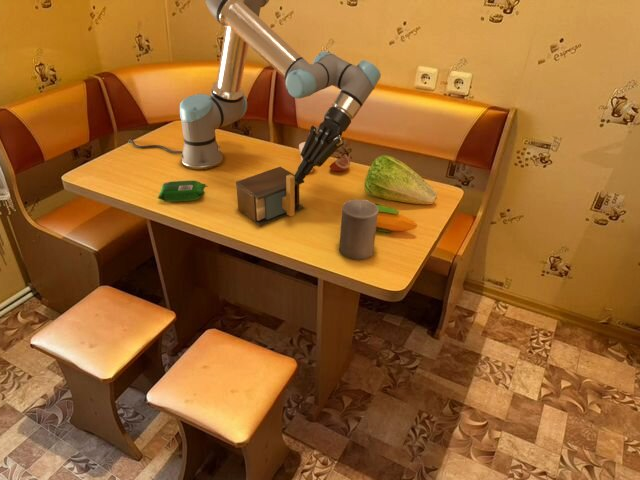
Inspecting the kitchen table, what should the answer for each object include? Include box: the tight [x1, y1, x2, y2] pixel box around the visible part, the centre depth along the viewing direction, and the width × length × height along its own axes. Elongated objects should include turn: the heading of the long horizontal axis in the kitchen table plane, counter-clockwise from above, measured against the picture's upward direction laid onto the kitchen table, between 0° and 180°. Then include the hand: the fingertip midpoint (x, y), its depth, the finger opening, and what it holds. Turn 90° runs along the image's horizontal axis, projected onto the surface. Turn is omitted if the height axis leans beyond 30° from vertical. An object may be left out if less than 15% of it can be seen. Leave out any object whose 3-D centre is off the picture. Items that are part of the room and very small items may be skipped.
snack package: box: [157, 180, 208, 203], centre depth 163 cm, size 7×16×5 cm, turn 94°
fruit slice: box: [329, 153, 351, 172], centre depth 177 cm, size 8×7×5 cm
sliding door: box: [265, 174, 296, 220], centre depth 148 cm, size 5×8×14 cm, turn 126°
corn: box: [374, 203, 418, 233], centre depth 146 cm, size 7×8×20 cm
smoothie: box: [298, 132, 314, 173], centre depth 175 cm, size 6×6×14 cm
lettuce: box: [363, 154, 438, 205], centre depth 158 cm, size 14×23×14 cm
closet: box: [235, 166, 305, 227], centre depth 155 cm, size 12×17×10 cm
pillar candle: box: [338, 198, 378, 261], centre depth 135 cm, size 10×10×15 cm
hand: (296, 181), depth 146 cm, fingers closed
